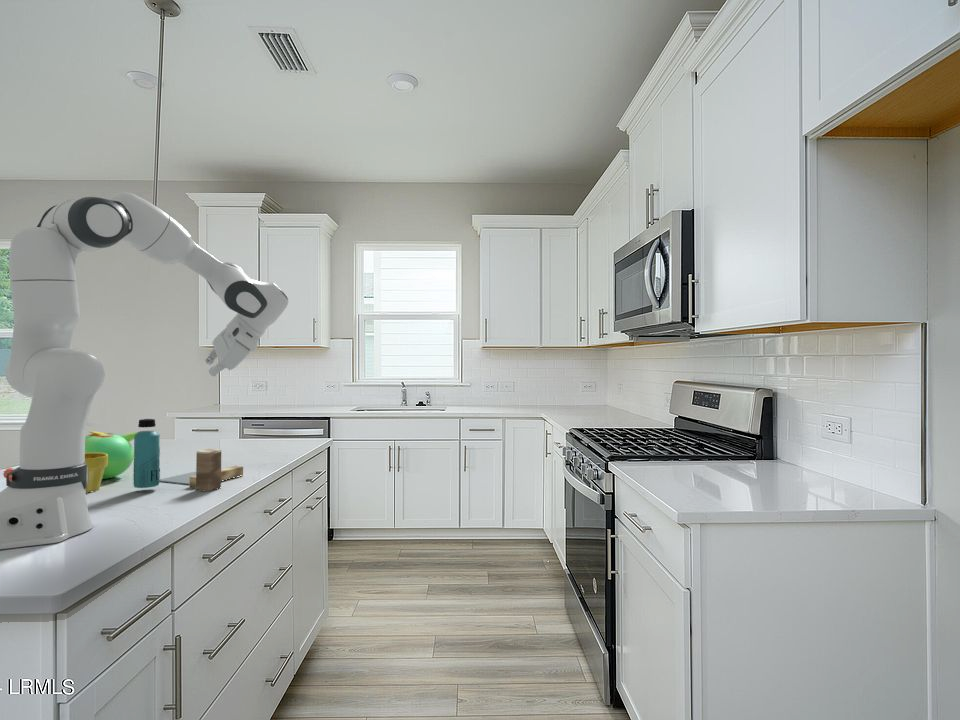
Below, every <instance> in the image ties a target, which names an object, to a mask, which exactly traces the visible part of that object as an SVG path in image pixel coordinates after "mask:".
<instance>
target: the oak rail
mask: <svg viewBox="0 0 960 720" xmlns="http://www.w3.org/2000/svg"><path fill="white" fill-rule="evenodd" d="M240 475H243V476H244V466H241V465H233V466H230V467H226V468H221V481H222V480H226V479H229V478H233V477H237V476H240ZM226 481H227V480H226ZM188 487H189V488H193V487H196V475H195V476H190V484H189V485H188Z"/></svg>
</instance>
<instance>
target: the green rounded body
mask: <svg viewBox="0 0 960 720" xmlns="http://www.w3.org/2000/svg"><path fill="white" fill-rule="evenodd" d="M138 432H139V431H136V432H130V433H126V434H121V435H118V434H115V433H113V432H112V433H111V432H109V433H108V432H101V431H95V430H93V431H91V430H89V431H88V433H89V434H87V435H85V453H106V454H108V466H107V467H105V470H104V473H103V477H102V480H106V479H111V478H114V477H117V476H119V475H121V474H123V473H125V472H126V471H127V470H128V469H129V468H130V466H131V465H132V464H133V462H134V446H132V444H131V441H134V435H135V434H136V433H138Z"/></svg>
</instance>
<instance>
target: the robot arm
mask: <svg viewBox="0 0 960 720" xmlns="http://www.w3.org/2000/svg"><path fill="white" fill-rule="evenodd" d="M10 241H11V242H10V246H9V257H8V258H9V259H8V261H9V262H8V269H9V283H10V291H11V300H12V313H13V328H12V329H13V331H12V339H11V346H10V357H9V361H8V362H7V363H6V367H5V368H4V369H5V371H4V374H5V375H4V376H5V380H6V381H7V383H8V385H9V386H10V387H11V388H12V389H14V390H15V391H17V392H18V393H19V394H21V395H23V396H26V397H28V398H31V403H30V407H29V409H28V414H27V417H26V419H25V422H24V423H23V425H22V426H21V428H20V431H19V466H18V467H16V468H15V469H14V468H13V467H8V468H6V469H5V470H3V473H2V475H3V477H4V478H5V479H6V480H5V481H6V482H5V484H6V487H5V488H4V489H2V491H1V490H0V550H7V549H13V548H14V549H15V548H22V547H30V546H39V545H47V544H49V545H50V544H56V543H60V542H63V541H65V540H67V539H69V538H71V537H74V536H77V535H80V534H83V533H85V532H87V531H90V530H91V529H92V528H93V526H94V525H93V522H92V519H91V516H90V511H89V507H88V506H89V505H88V501H87V493H86V491H85V489H86V487H87V481H88V468H87V463H86V462H85V436H86V430H87V429H86V428H87V424H88V423H87V422H88V418H89V415H90V412H91V407H92V404H93V400H94V397H95V394H96V393H97V392H98V391H99V390H100V389H101V387H102V385H103V384H104V381H105V377H106V376H105V375H106V374H105V368H104V366H103V364H102V362H101V361H100V360H99V359H98V358H97V357H96V356H94V355H93V354H90V353H89V352H86V351H84V350H81V349H78V348H73V341H74V340H73V339H74V334H75V329H76V327H77V325H78V324H79V321H80V319H81V318H80V317H81V311H80V300H79V292H78V283H77V275H76V268H75V267H76V259H77V257H78V254H79V253H81V252H95V251H99V250H102V249H105V248H109V247H111V246H115V245H116V244H118V243H119V242H120V241H123V242H125V243H127V244H129V245H130V246H131V247H133V248H134V249H136V250H138V251H139V252H140V253H141V254H143V255H145V256H147V257H148V258H150V259H152V260H155V261H156V262H159V263H161V264H163V265H174V264H177V263H180V264H182V265H184V266H185V267H187V268H189V269H190V270H192V271H193V272H195V273H196V274H197V275H199V276H201V277H202V278H204V279H205V280H206V282H207V284H208V286H209V287H210V289H211V290H212V291H213V292H214V293H215V295H216V296H218V298H219V299H220V300H221V301H222V302H223V304H224V305H225V306H226V307H227V308H228V309H230V311H233V312H236V313H237V314H236V315H235V316H234V317H233V318H232V319H231V320H230V321H229V323H227V325H226V326H225V328H223V330H222V331H221V332H220V333H218V335H216V336H215V337H214V339H213V340H212V346H213V348H212V349H211V350H210V352H209V354H208V355H207V357H206V358H205V359H204V362H205V363H206V364H207V365H209V366H211V365H212V364H213V363H214V362H215V359H216V358H218V362H217V363H216V364H215V365H214V366H211V368H210V369H209V370H208V373H209V375H210V376H212V377H216V376H217V374H218V373H220V372H222V371H223V370H225V369H227V370H228V371H232V370H234V369H235V368H237V366H239V365H240V363H242V362H243V360H245V359H246V357H247V356H248V355H249V354H250V352H254V351H255V350H256V349H258V344H259V341H260V339H261V337H262V336H263V335H264V334H265V332H266V330H267V328H268V327H270V326H271V325H273V324H274V323H275V322H276V321H277V320H278V318H280V316H281V315H282V314H283V313H284V311H285V309H287V307H288V304H289V298H288V296H287V295H286V293H285V292H284V291H283V290H282V289H281V288H280V287H279V285H277V284H276V283H275V282H272V281H270V282H268V281H267V282H265V281H259V280H256V279H253V278H250V277H249V276H248V275H247V274H246V272H245V270H244V269H242V267H240V266H239V265H237V264H235V263H231V262H227V261H224V260H223V261H222V260H220V259H218V258H216V257H215V256H214V255H213V254H211V253H209V252H208V251H206V250H205V249H204V248H202V247H201V246H199V245H198V244H197V243H196V242H195V241H194V240H193V238H192V235H191V234H190V233H189V232H188V230H187V229H186V228H184V227H183V225H181V224H180V223H179V222H178V221H177V220H176V219H174V218H173V217H172V216H170V215H169V214H168V213H166V212H165V211H164V210H162V209H161V208H159V207H158V206H156V205H155V204H153V203H151V202H150V201H148V200H146V199H144V198H143V197H140V196H138V195H137V194H135V193H132V192H129V191H121V192H118V193H115V194H114V195H112V196H110V198H103V197H97V196H87V197H86V196H85V197H81V198H76V199H75V198H74V199H73V198H72V199H68V200H66V201H63V202H61V203H59V204H56V205H53V206H51V207H49V208H48V209H47V210H46V211H45V212H44V213H43V214H42V217H41V218H40V220H39V223H38V224H37V225H36V226H33V227H25V228H22V229H20V230H18V231H16V232H15V233H14V234H13V236H12V237H11V240H10Z"/></svg>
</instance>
